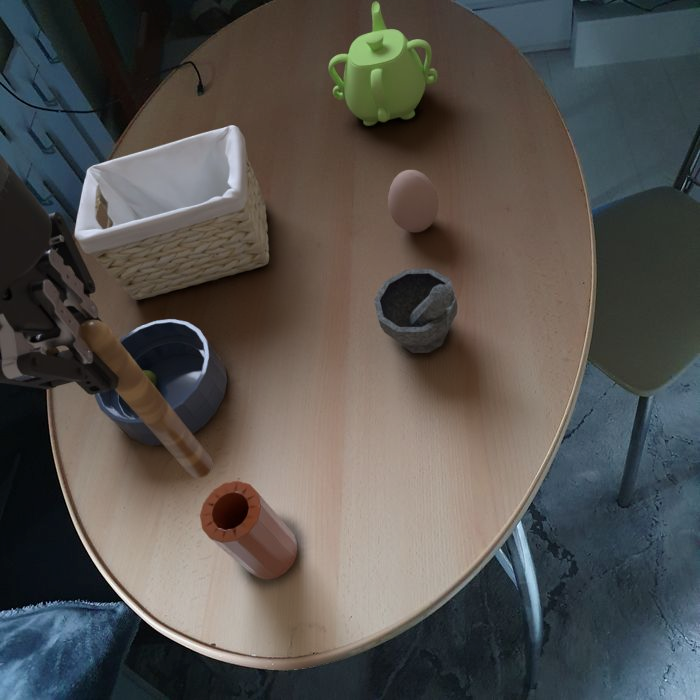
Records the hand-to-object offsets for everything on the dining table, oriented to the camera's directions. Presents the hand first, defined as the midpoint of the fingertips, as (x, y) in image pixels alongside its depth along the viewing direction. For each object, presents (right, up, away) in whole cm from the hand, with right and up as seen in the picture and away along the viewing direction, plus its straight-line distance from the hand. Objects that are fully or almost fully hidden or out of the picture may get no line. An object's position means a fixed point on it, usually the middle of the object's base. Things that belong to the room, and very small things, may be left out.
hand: (107, 370), depth 49 cm
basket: (-5, +16, +55) cm, 57 cm away
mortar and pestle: (+27, +3, +36) cm, 45 cm away
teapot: (+24, +43, +65) cm, 82 cm away
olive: (-9, -3, +39) cm, 41 cm away
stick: (+4, -10, +14) cm, 17 cm away
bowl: (-6, -4, +40) cm, 41 cm away
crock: (+9, -20, +24) cm, 33 cm away
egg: (+27, +19, +47) cm, 58 cm away
